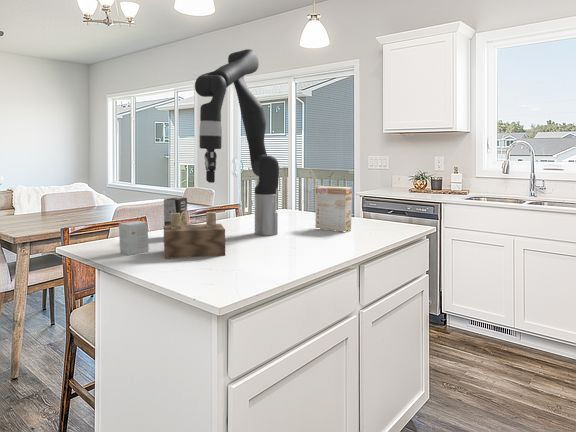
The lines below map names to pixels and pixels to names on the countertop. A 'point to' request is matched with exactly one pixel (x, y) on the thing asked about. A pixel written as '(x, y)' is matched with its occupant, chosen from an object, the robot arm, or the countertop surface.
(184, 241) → the walnut block
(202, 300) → the countertop surface
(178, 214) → the pin
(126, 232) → the small box
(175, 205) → the coffee box
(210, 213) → the pin
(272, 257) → the countertop surface
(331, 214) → the coffeecake box
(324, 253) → the countertop surface
